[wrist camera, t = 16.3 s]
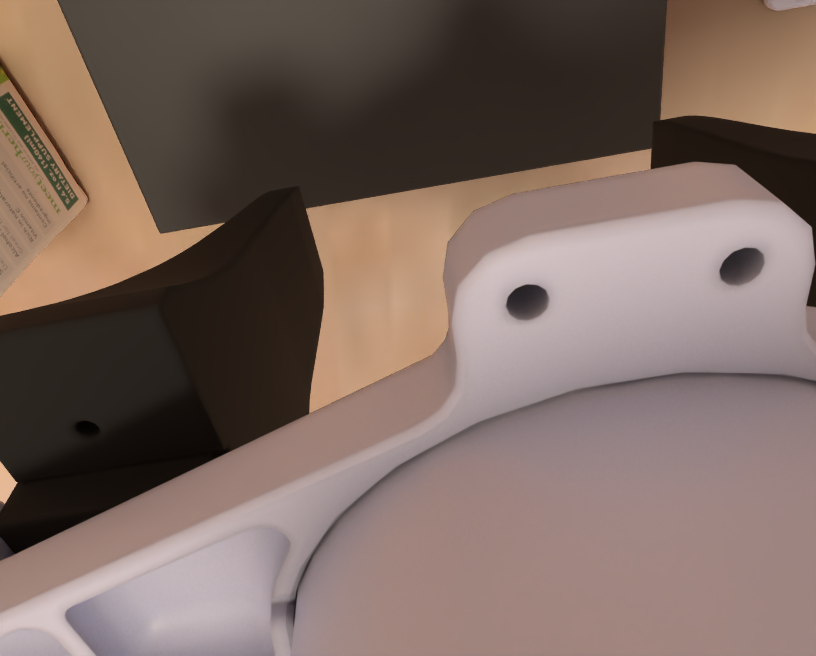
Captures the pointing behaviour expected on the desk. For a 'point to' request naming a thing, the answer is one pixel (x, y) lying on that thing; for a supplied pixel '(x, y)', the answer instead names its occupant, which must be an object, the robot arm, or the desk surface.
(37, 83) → the desk surface
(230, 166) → the small drawer cabinet
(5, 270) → the syrup box
